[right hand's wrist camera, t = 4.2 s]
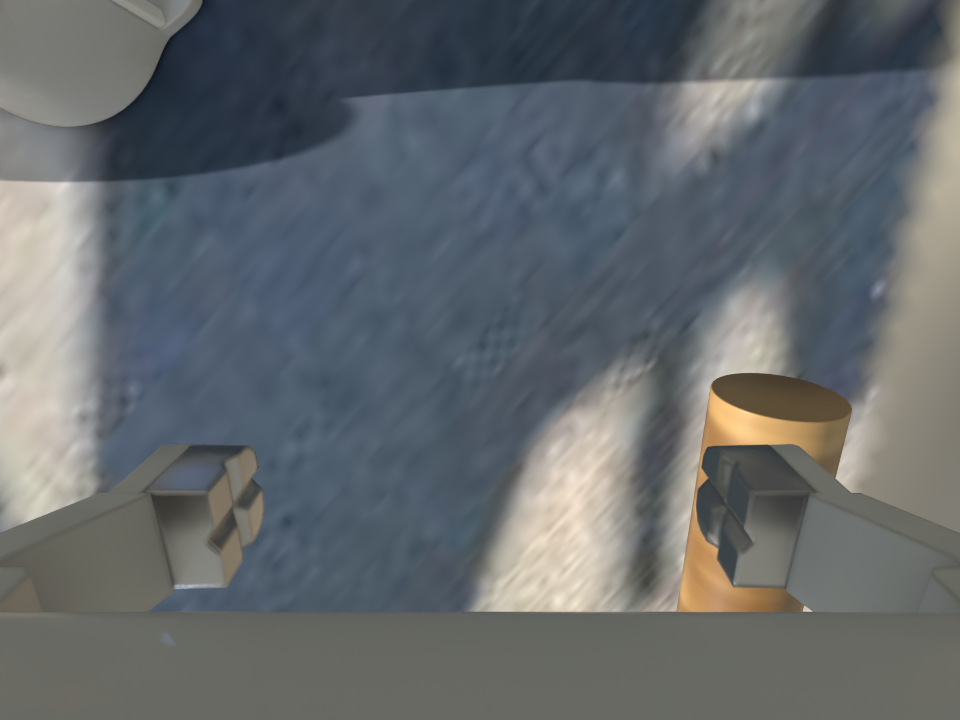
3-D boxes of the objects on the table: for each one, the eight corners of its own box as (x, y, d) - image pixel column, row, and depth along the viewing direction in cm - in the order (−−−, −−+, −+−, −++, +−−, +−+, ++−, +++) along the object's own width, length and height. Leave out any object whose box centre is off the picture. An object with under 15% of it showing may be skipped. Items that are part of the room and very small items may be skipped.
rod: (692, 372, 29) (743, 422, 24) (805, 372, 29) (883, 422, 24) (645, 713, 38) (675, 811, 32) (733, 713, 38) (779, 811, 32)
